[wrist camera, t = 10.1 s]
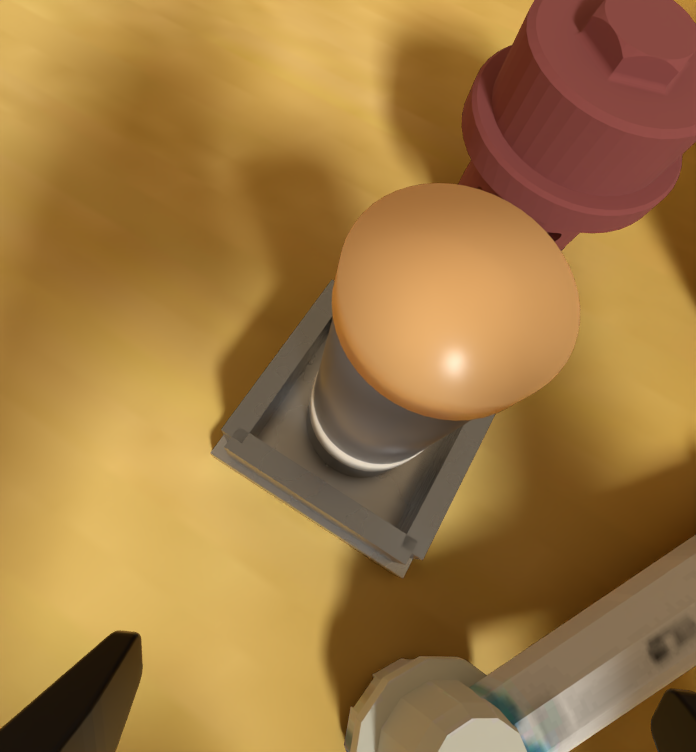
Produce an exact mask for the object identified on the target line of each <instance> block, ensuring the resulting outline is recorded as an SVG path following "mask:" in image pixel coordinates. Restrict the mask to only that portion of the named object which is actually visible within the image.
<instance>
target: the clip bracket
mask: <svg viewBox="0 0 696 752" xmlns="http://www.w3.org/2000/svg"><path fill="white" fill-rule="evenodd" d="M333 286H334V280H331V281H330V283H329V284H328V285H327V287H326V288H325V289H324V291H323V292H322V294H321V295H320V296H319V298H318V299H317V300H316V302H315V303H314V304H313V306H312V307H311V308H310V310H309V311H308V312H307V314H306V315H305V317H304V318H303V319H302V321H301V322H300V323H299V325H298V326H297V327H296V329H295V330H294V331H293V333H292V334H291V335H290V337H289V338H288V340H287V341H286V342H285V344H284V345H283V346H282V348H281V349H280V350H279V352H278V353H277V354H276V356H275V357H274V359H273V360H272V361H271V363H270V364H269V365H268V367H267V368H266V369H265V371H264V372H263V373H262V375H261V376H260V377H259V379H258V380H257V382H256V383H255V384H254V386H253V387H252V388H251V390H250V391H249V392H248V394H247V395H246V396H245V398H244V399H243V400H242V402H241V403H240V405H239V406H238V407H237V409H236V410H235V411H234V413H233V414H232V415H231V417H230V418H229V419H228V421H227V422H226V423H225V425H224V426H223V428H222V429H221V431H222V433H223V436H222V438H221V439H220V441H219V442H218V443H217V445H216V446H215V447H214V449H213V450H212V451H211V455H212V456H213V457H214V458H216V459H217V460H219V461H220V462H222V463H223V464H225V465H227V466H228V467H230V468H231V469H233V470H234V471H236V472H237V473H239V474H240V475H242V476H243V477H245V478H247V479H248V480H250V481H251V482H253V483H254V484H256V485H257V486H259V487H260V488H262V489H263V490H265V491H267V492H268V493H270V494H271V495H273V496H274V497H276V498H277V499H279V500H280V501H282V502H283V503H285V504H287V505H288V506H290V507H291V508H293V509H294V510H296V511H297V512H299V513H300V514H302V515H303V516H305V517H306V518H308V519H310V520H311V521H313V522H314V523H316V524H317V525H319V526H320V527H322V528H323V529H325V530H326V531H328V532H330V533H331V534H333V535H334V536H336V537H337V538H339V539H340V540H342V541H343V542H345V543H346V544H348V545H350V546H351V547H353V548H354V549H356V550H357V551H359V552H360V553H362V554H363V555H365V556H366V557H368V558H370V559H371V560H373V561H374V562H376V563H377V564H379V565H380V566H382V567H383V568H385V569H386V570H388V571H390V572H391V573H393V574H394V575H396V576H397V577H400V578H404V576H405V574H406V572H407V570H408V568H409V566H410V564H411V562H412V560H413V559H419V560H423V559H424V557H425V555H426V553H427V551H428V549H429V547H430V545H431V543H432V541H433V539H434V537H435V535H436V533H437V531H438V529H439V527H440V525H441V523H442V521H443V518H444V516H445V514H446V512H447V510H448V508H449V506H450V504H451V502H452V500H453V498H454V496H455V494H456V492H457V490H458V488H459V486H460V484H461V482H462V480H463V478H464V476H465V474H466V472H467V470H468V468H469V466H470V464H471V462H472V460H473V458H474V456H475V454H476V452H477V450H478V448H479V446H480V444H481V442H482V440H483V438H484V436H485V434H486V432H487V430H488V428H489V426H490V424H491V422H492V420H493V418H494V416H495V414H493V415H490V416H487V417H484V418H478V419H473V420H471V421H469V422H468V423H466V424H465V425H463V426H461V427H460V428H458V429H456V430H455V431H453V432H452V433H450V434H448V435H447V436H445V437H443V438H442V439H440V440H439V441H437V442H435V443H434V444H432V445H430V446H429V447H427V448H426V449H424V450H423V451H422V452H421V453H419V454H418V455H417V456H415V457H413V458H412V459H410V460H409V461H407V462H405V463H404V464H402V465H400V466H398V467H395V468H393V469H392V470H390V471H388V472H386V473H384V474H381V475H378V476H373V477H354V476H349V475H346V474H343V473H341V472H339V471H337V470H335V469H333V468H332V467H330V466H329V465H328V464H327V463H325V462H324V461H323V460H322V459H321V457H320V456H319V455H318V454H317V452H316V451H315V449H314V447H313V445H312V443H311V441H310V438H309V435H308V430H307V412H308V408H309V404H310V397H311V392H312V388H313V384H314V381H315V378H316V375H317V372H318V371H319V367H320V363H321V360H322V356H323V352H324V349H325V345H326V341H327V338H328V334H329V330H330V327H331V323H332V319H333V315H332V291H333Z"/></svg>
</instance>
